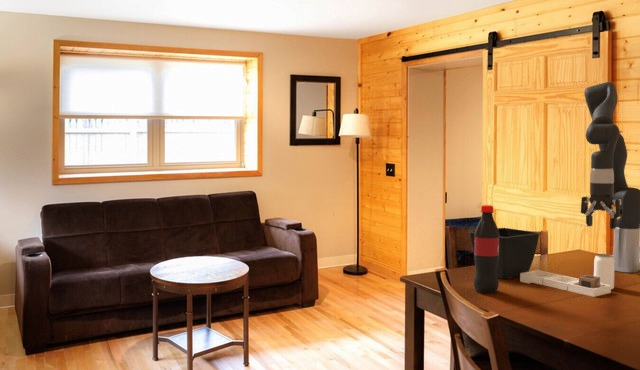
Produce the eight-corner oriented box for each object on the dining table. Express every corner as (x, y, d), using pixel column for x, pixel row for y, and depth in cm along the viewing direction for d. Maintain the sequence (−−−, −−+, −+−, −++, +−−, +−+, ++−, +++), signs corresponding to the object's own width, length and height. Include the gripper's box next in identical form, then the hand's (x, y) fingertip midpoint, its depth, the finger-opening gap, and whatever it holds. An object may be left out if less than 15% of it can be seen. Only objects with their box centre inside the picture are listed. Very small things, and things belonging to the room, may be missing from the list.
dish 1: (537, 278, 232) (537, 269, 232) (559, 283, 224) (559, 274, 224) (520, 281, 227) (520, 273, 226) (542, 286, 219) (542, 277, 218)
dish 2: (560, 283, 224) (560, 274, 223) (583, 288, 215) (584, 279, 215) (543, 287, 218) (543, 278, 218) (566, 292, 210) (566, 283, 210)
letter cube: (585, 289, 212) (585, 274, 212) (599, 291, 208) (600, 276, 208) (578, 291, 209) (578, 276, 208) (593, 294, 205) (593, 279, 204)
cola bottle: (499, 289, 216) (500, 204, 213) (498, 295, 208) (499, 206, 205) (474, 287, 218) (475, 203, 216) (472, 293, 210) (473, 206, 208)
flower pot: (467, 272, 242) (468, 230, 240) (502, 267, 251) (503, 226, 250) (503, 282, 225) (504, 237, 224) (539, 276, 235) (540, 233, 233)
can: (616, 291, 211) (617, 257, 210) (595, 291, 212) (596, 256, 211) (611, 287, 217) (612, 253, 216) (591, 286, 219) (592, 253, 218)
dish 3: (584, 289, 215) (585, 280, 215) (610, 294, 207) (610, 285, 207) (567, 292, 210) (568, 283, 210) (593, 299, 202) (593, 289, 202)
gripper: (576, 181, 218) (576, 226, 220) (615, 183, 207) (614, 231, 208) (589, 179, 223) (588, 224, 224) (627, 181, 211) (626, 228, 212)
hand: (601, 227), depth 216 cm, fingers open, 8 cm apart
